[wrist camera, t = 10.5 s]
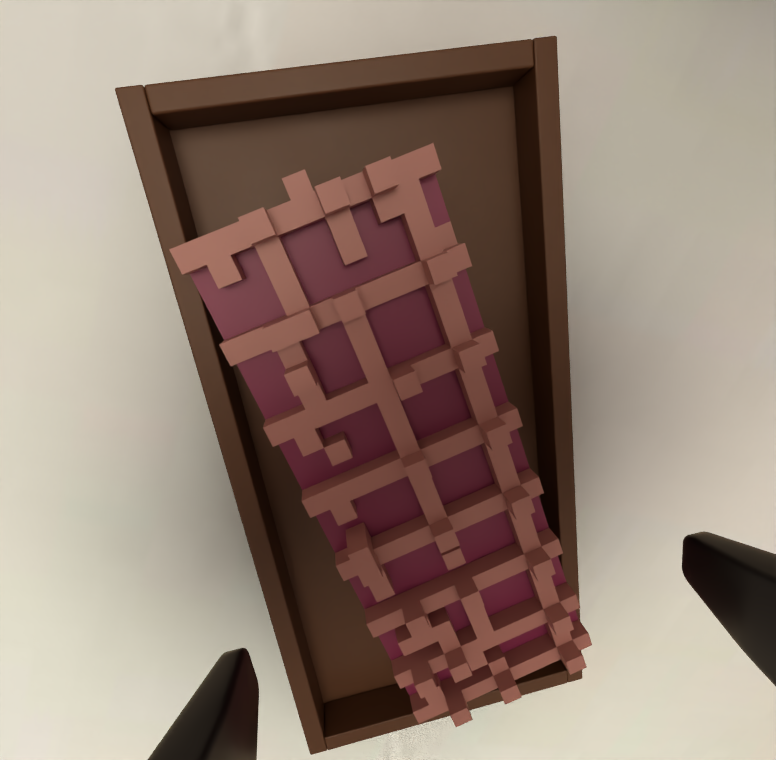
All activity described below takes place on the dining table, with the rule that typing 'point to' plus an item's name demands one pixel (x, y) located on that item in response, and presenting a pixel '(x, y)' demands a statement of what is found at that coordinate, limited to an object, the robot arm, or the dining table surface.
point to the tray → (487, 274)
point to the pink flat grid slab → (396, 424)
